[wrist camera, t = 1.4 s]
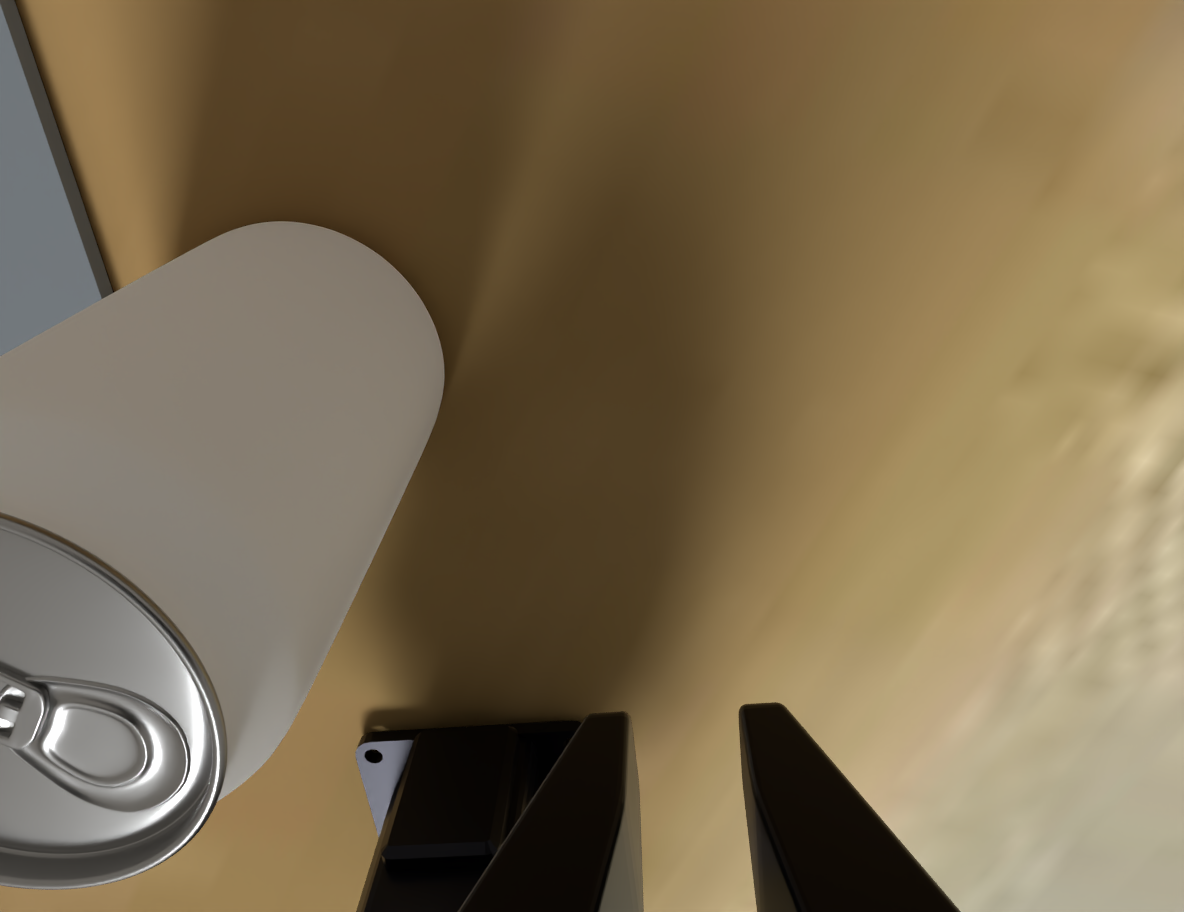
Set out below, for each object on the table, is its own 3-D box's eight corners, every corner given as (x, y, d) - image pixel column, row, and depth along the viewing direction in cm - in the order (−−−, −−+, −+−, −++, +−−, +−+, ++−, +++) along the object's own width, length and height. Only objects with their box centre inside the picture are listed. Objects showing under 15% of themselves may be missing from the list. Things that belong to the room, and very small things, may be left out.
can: (380, 528, 23) (160, 979, 13) (130, 405, 22) (-348, 787, 11) (498, 309, 21) (349, 640, 10) (222, 158, 20) (-282, 349, 9)
